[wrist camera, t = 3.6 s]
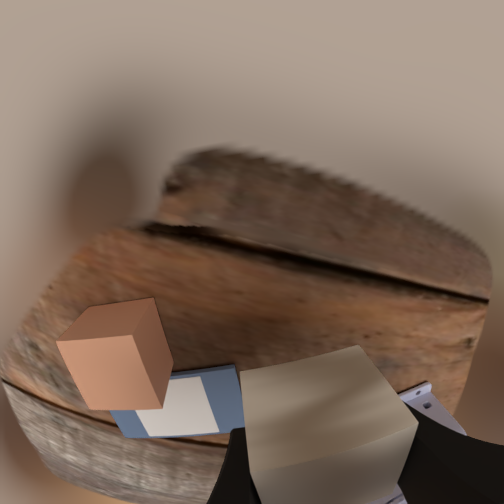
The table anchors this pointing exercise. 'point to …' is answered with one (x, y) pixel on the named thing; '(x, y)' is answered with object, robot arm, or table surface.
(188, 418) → the blue flat board
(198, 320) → the table surface
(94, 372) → the terracotta block
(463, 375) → the table surface
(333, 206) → the table surface
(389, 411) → the cream block
